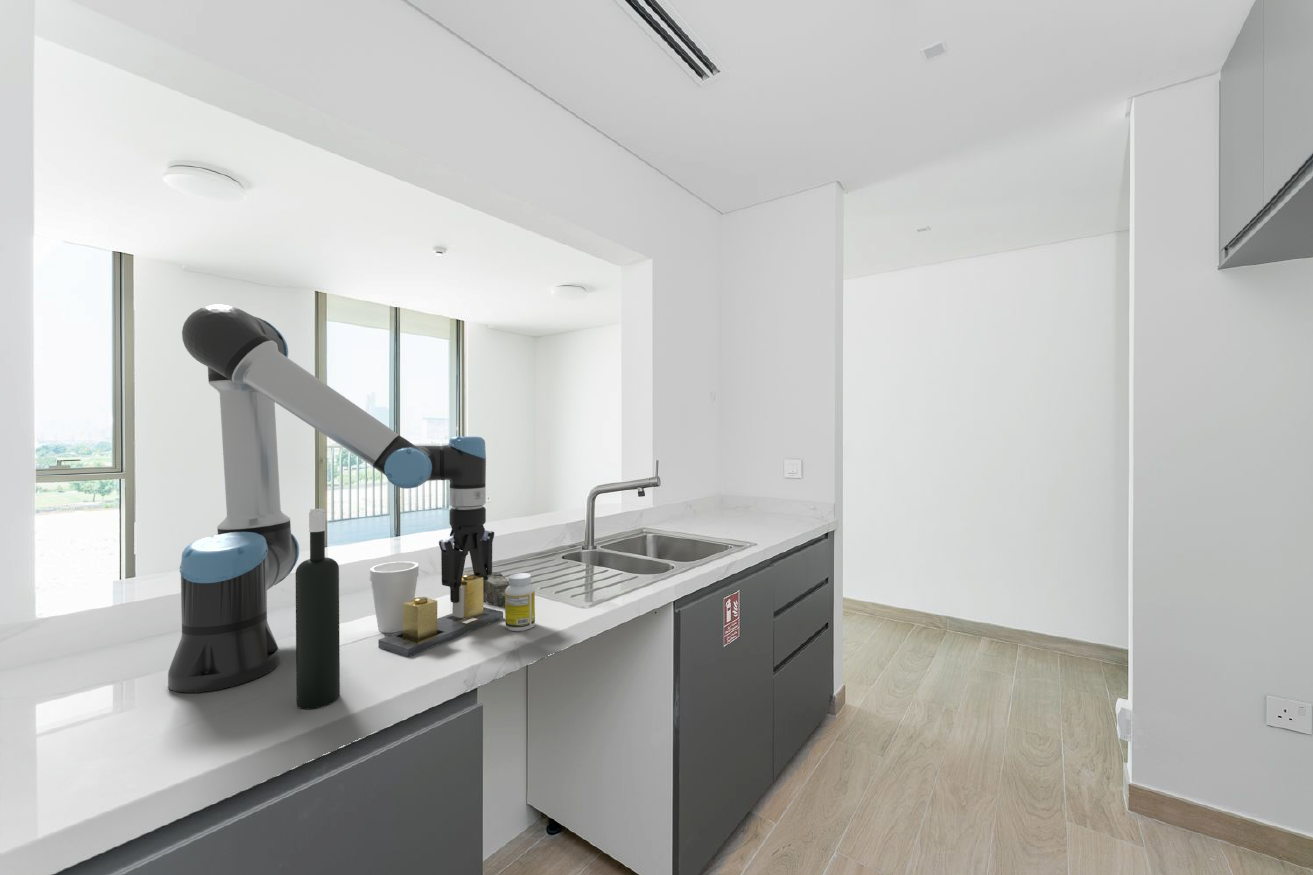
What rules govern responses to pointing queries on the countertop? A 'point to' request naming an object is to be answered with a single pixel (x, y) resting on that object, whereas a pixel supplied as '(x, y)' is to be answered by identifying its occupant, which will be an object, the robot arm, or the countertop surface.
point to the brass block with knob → (419, 619)
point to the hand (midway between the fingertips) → (467, 612)
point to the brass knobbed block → (472, 595)
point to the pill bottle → (519, 603)
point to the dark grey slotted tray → (439, 633)
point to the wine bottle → (317, 622)
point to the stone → (495, 589)
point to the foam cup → (393, 592)
